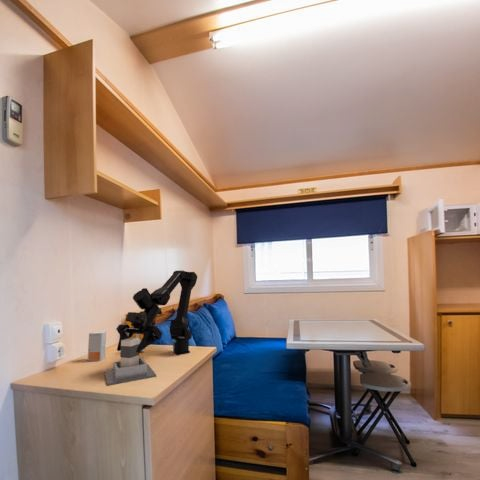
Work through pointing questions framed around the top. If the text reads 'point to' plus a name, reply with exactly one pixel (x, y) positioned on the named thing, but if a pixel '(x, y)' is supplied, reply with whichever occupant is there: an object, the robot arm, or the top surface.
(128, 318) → the robot arm
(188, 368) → the top surface
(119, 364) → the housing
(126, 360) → the plug
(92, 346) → the skincare box
